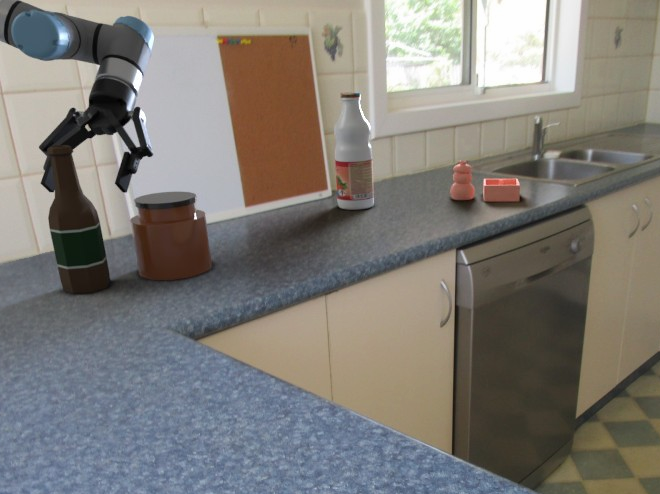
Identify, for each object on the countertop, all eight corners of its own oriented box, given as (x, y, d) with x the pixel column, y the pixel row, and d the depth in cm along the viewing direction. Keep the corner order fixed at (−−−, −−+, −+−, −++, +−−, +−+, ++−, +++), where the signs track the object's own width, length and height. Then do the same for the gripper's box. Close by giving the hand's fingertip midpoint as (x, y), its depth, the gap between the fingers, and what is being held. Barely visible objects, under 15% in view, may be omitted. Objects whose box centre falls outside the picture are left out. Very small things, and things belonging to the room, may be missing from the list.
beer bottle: (116, 288, 114) (90, 146, 105) (66, 297, 110) (35, 150, 101) (106, 276, 120) (80, 141, 112) (59, 285, 116) (29, 146, 107)
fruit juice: (369, 210, 166) (364, 93, 156) (333, 209, 167) (326, 94, 158) (378, 202, 174) (373, 91, 164) (343, 202, 176) (337, 91, 166)
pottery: (516, 194, 181) (518, 157, 177) (519, 201, 172) (520, 163, 168) (450, 194, 182) (450, 158, 179) (449, 201, 174) (449, 163, 170)
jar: (138, 264, 127) (126, 194, 122) (207, 255, 131) (199, 187, 127) (139, 284, 116) (126, 208, 111) (216, 274, 120) (206, 200, 115)
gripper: (188, 103, 123) (162, 200, 115) (64, 105, 127) (30, 199, 118) (170, 74, 116) (141, 175, 108) (41, 77, 120) (2, 175, 111)
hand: (83, 188), depth 113 cm, fingers open, 13 cm apart
